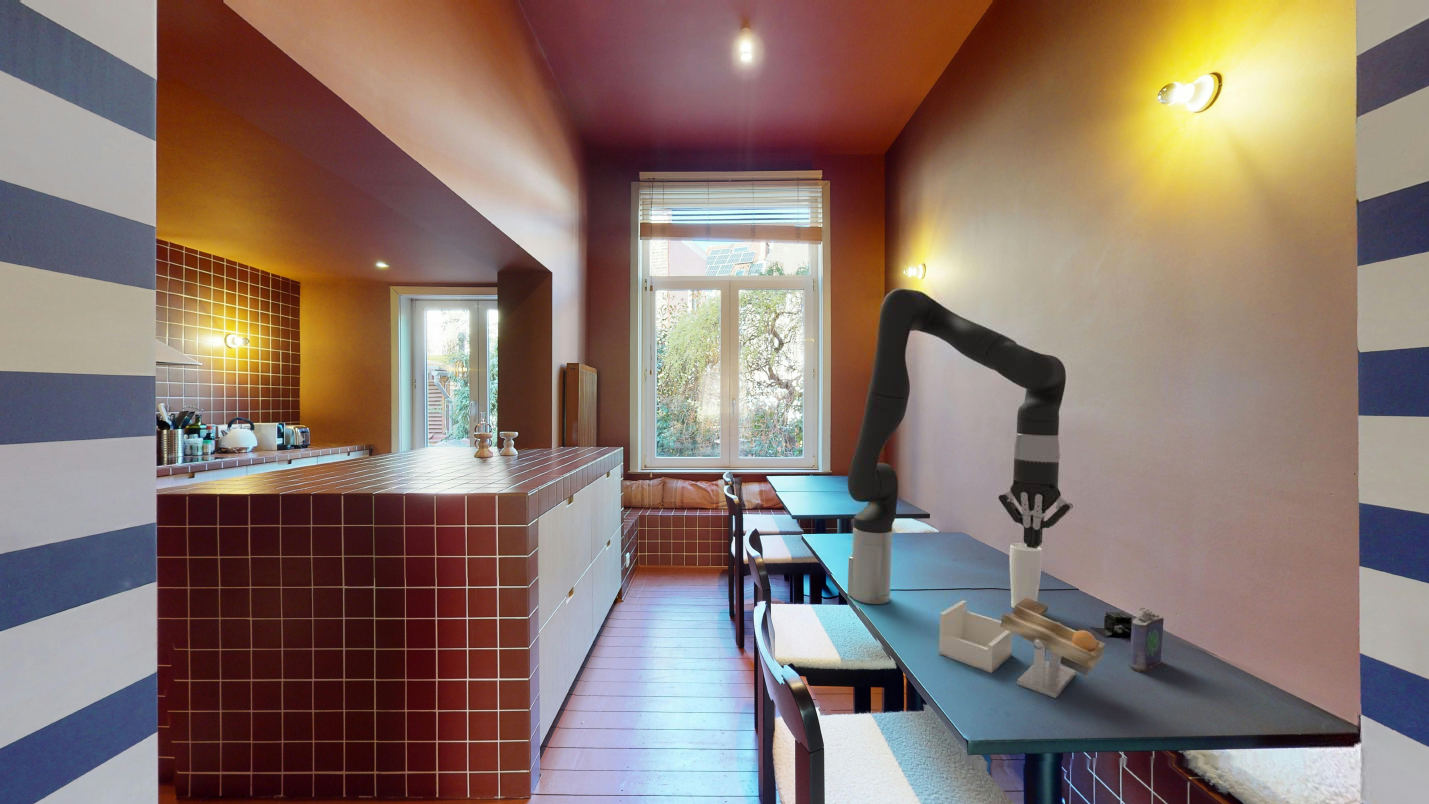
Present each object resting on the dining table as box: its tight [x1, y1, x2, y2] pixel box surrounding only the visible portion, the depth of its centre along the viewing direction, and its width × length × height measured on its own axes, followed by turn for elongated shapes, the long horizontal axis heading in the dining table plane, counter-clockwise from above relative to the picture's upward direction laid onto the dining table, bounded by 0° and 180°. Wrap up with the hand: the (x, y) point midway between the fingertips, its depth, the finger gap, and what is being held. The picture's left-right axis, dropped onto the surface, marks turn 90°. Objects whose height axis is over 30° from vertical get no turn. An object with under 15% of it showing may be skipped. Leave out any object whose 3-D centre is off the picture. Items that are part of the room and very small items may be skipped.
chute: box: [1000, 597, 1106, 676], centre depth 103 cm, size 15×13×4 cm
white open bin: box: [938, 600, 1014, 674], centre depth 110 cm, size 10×11×8 cm
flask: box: [1129, 607, 1164, 673], centre depth 108 cm, size 9×3×11 cm, turn 121°
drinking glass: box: [1009, 542, 1043, 609], centre depth 134 cm, size 7×7×15 cm
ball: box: [1073, 629, 1097, 652], centre depth 97 cm, size 4×4×4 cm
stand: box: [1016, 621, 1076, 699], centre depth 101 cm, size 6×12×9 cm, turn 134°
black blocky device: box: [1088, 611, 1133, 640], centre depth 122 cm, size 12×7×5 cm, turn 88°
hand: (1032, 547), depth 109 cm, fingers closed
